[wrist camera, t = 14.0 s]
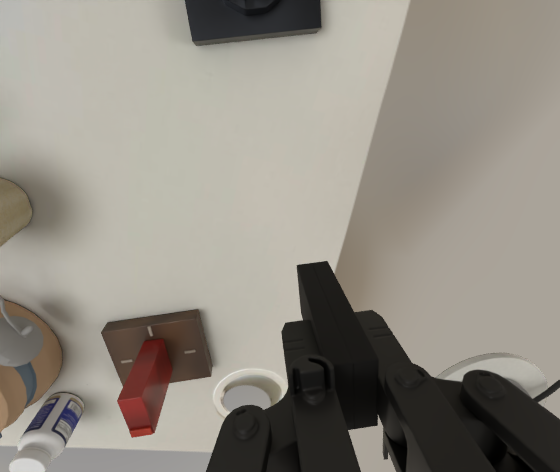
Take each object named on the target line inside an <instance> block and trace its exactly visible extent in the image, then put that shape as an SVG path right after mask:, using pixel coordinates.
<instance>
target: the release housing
mask: <svg viewBox="0 0 560 472" xmlns="http://www.w3.org/2000/svg"><path fill="white" fill-rule="evenodd" d="M185 4H186V9H187V15H188V20H189V25H190V31H191V36H192V41H193V42H194V44H195V45H196V46H200V45H210V44H219V43H228V42H237V41H247V40H256V39H265V38H274V37H284V36H293V35H302V34H311V33H317V32H318V31H319V30H320V29H321V8H320V0H185Z"/></svg>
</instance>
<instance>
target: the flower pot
mask: <svg viewBox="0 0 560 472" xmlns="http://www.w3.org/2000/svg"><path fill="white" fill-rule="evenodd" d="M31 217H32V208H31V206H30V203H29V200H28V197H27V195H26V194H25V192H24V191H23V190H22V189H21V188H20V187H18V186H17V185H15V184H14V183H12V182H10V181H8V180H6V179H3V178H0V247H1V246H2V245H3V244H4V243H6V242H7V241H8V240H9V239H10V238H11V237H13V236H14V235H15V234H16V233H18V232H19V231H20V230H21V229H22V228H24V227H25V226H26V225H27V224H28V223H29V221H30V220H31Z"/></svg>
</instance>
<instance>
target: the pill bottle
mask: <svg viewBox="0 0 560 472" xmlns="http://www.w3.org/2000/svg"><path fill="white" fill-rule="evenodd" d="M83 411H84V404H83V402H82V401H81V399H79V398H78V397H77V396H75V395H72V394H69V393H58V394H54V395H52V396H50V397H49V398H48V399H47V400H46V401H45V403H44V404H43V406H42V407H41V409H40V410H39V412H38V413H37V414H36V416H35V417H34V419H33V420H32V422H31V423H30V425H29V426H28V428H27V429H26V431H25V432H24V434H23V435H22V437H21V438H20V440H19V442H18V453H17V454H16V456H15V457H14V458H13V460H12V462H11V463H10V465H9V470H10V472H46V470H47V468H48V466H49V465H50V462H51V460H53V459H55V458H56V457H58V456H59V455H60V454H61V452H62V451H63V449H64V447H65V446H66V444H67V442H68V440H69V438H70V436H71V434H72V432H73V431H74V429H75V427H76V425H77V423H78V421H79V419H80V417H81V415H82V413H83Z"/></svg>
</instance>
